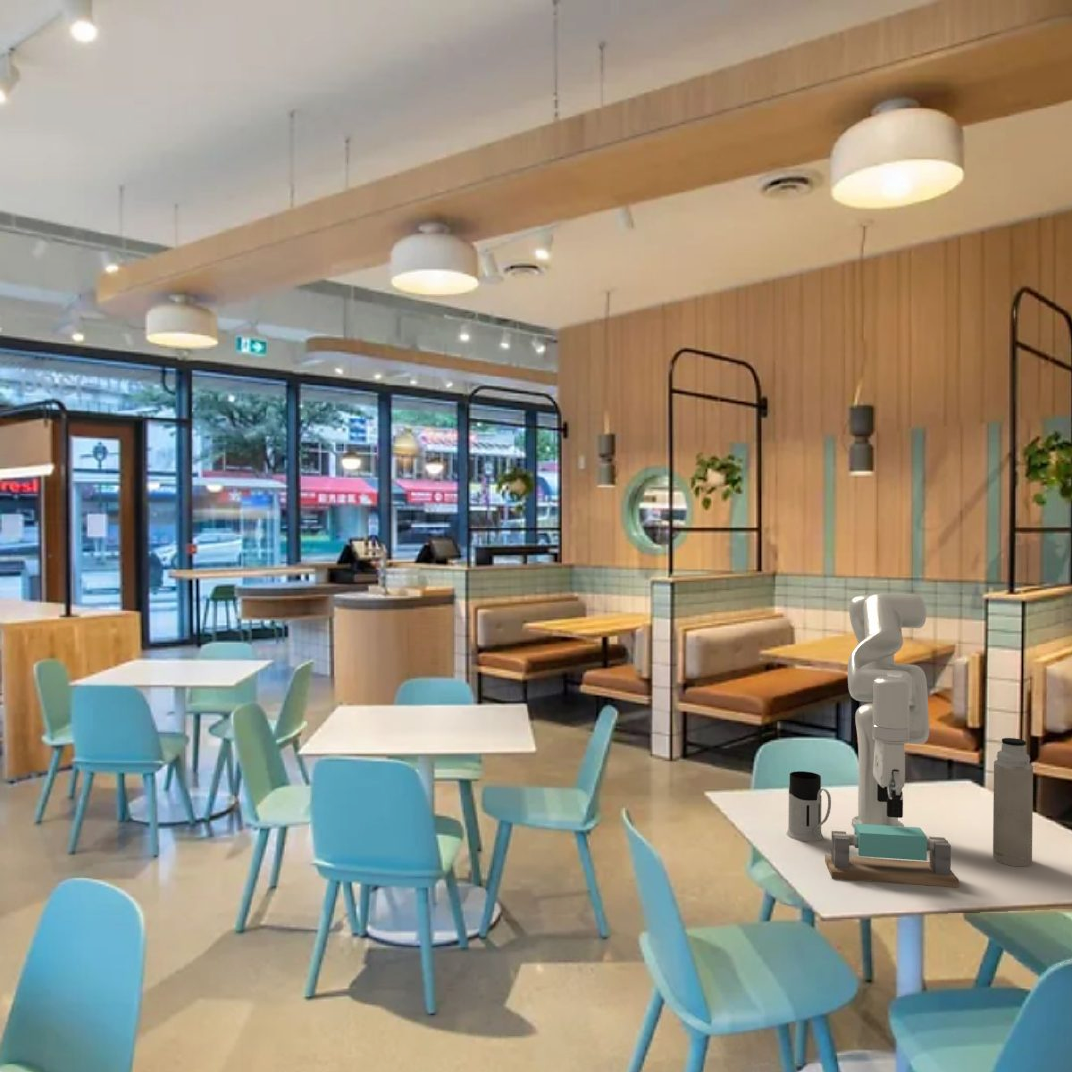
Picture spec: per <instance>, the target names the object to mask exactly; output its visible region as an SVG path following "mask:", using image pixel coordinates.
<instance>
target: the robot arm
mask: <svg viewBox="0 0 1072 1072" xmlns="http://www.w3.org/2000/svg"><path fill="white" fill-rule="evenodd" d="M848 608H849V609H848V611H849V619H850V623H851V628H852V631H853V633H854V635H855V638H856V641H857V645H856V646H855V647H854V648H853V650H852V652H851V653H850V655H849V658H848V662H847V684H848V685H847V687H848V692H849V694H850V697H851V698H852V699H854V700H855V701H858V702H867V703H866V704H863V705H861V706H859V707H858V708H857V709H856V711H855V716H854V718H855V720H854V721H855V727H856V735H857V736H856V737H857V747H858V748H857V749H858V750H857V751H858V752H857V753H858V775H857V776H858V778H857V780H858V782H857V783H858V786H857V787H858V791H857V793H858V795H857V799H858V802H857V805H858V807H857V815H856V816H853V817H852V819H851V825H852V826H853V827H854V824H869V825H886V826H903V827H905V825H904V823H902V822H901V821H900V820H899V818H900V819H902V818H903V817H904V795H903V790H902V789H903V788H904V787H905V781H906V760H905V759H906V755H905V754H906V752H905V750H906V749H905V744H908V745H909V744H910V745H922V744H925V743H926V742H927V741H928V739H929V737H930V715H929V697H928V684H927V677H926V674H925V671H924V670H923V668H922V667H920V666H918V665H916V664H909V663H907V664H906V663H896V662H895V654H896V653H898V652H899V651H900V650H901V649H902V646H903V644H904V640H903V639H904V638H903V631H902V628H903V629H921V628H922V627H923V626H924V625H925V623H926V620H927V607H926V604H925V602H924V600H923V598H922V597H921V596H920V595H918V594H915V593H914V594H913V593H890V592H889V593H888V592H887V593H884V592H883V593H875V594H862V595H857V596H854V597H853V598H852V599H851V601H850V602H849V607H848Z"/></svg>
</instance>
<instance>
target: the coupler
mask: <svg viewBox="0 0 1072 1072" xmlns="http://www.w3.org/2000/svg"><path fill="white" fill-rule="evenodd" d="M853 828H854V830H853V831H854V833H853V835H857V836H858V838H859V840H858V846H853V847H854V849H858V857H862V858H878V859H893V860H908V861H924V862H928V858H927V857H928V851H927V839H928V837H927V835H926V834H925V832H924V831H923V829H922V828H921V827H916V826H904V827H903V826H886V825H869V824H854V826H853Z"/></svg>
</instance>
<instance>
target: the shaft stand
mask: <svg viewBox="0 0 1072 1072" xmlns="http://www.w3.org/2000/svg"><path fill="white" fill-rule="evenodd" d="M830 839H831V846H830V847H831V848H830V850H831V851H830V853H831V855H829V854H828V855H827V854H824V862H825V865H826V868H827V869H828V872H829V875H830V877H831V879H838V880H846V881H847V880H850V881H863V882H864V881H866V882H877V883H878V882H879V883H890V884H891V883H893V884H906V885H907V884H908V885H909V884H910V885H923V886H935V887H950V888H951V887H952V888H960V881H959V879H958V877H957V876H956V875H955V873H954V872H953V870H952V869H951V862H952V859H951V858H952V855H951V854H952V853H951V852H952V851H951V850H952V848H951V847H952V845H951V844H950V843H949V841H948V840H947V839H946V838H945V837H943V836H942V837H939V836H929V838H927V852H928V851H929V861H923V860H907V859H892V858H877V857H862V856H850V846H851V847H854V846H858V840H859V838H858V836H857V835H854V833H853V834H851V833H849V834H848V833H847V832H846V831H841V830H838V831H837V830H831V837H830Z"/></svg>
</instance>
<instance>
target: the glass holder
mask: <svg viewBox="0 0 1072 1072" xmlns="http://www.w3.org/2000/svg"><path fill="white" fill-rule="evenodd" d="M821 786H822V777H821V774H818V773H815V772H811V771H802V770H799V771H791V772H790V773H789V786H788V829H787V831H786V836H787V837H789V838H790V839H793V840H797V841H800V842H801V841H802V842H818V841H821V840H823V839H824V835H823V833H822V825H824V824H825V823H826V822H827V820H828V818H829V817H830V814H831V809H832V808H831V807H832V797H831V793H830V792H829V791H828V790H827V788H823V787H821ZM822 791H824V792H825V794H826V796H827V809H826V814H825V817H824V819H823V820H822Z"/></svg>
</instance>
